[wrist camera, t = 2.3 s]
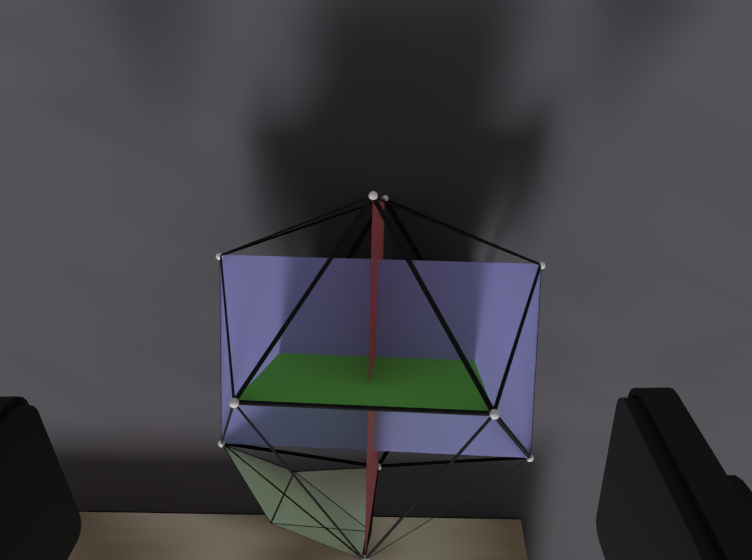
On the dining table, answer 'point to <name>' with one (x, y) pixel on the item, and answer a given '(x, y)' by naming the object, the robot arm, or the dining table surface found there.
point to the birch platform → (286, 539)
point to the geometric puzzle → (371, 370)
